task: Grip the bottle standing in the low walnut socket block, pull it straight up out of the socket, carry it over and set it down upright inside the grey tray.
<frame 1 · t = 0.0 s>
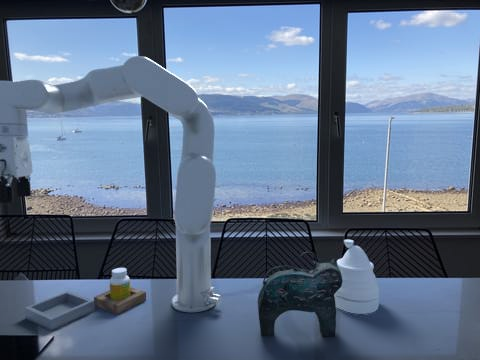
hand: (15, 199, 91), 31 cm above the table, tool pointing down, fingers open, 9 cm apart
green animal figurine: (299, 334, 85), on the table
tray: (60, 314, 94), on the table
socket block: (120, 302, 101), on the table
supplement bottle: (120, 303, 101), resting in socket block
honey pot: (354, 304, 100), on the table
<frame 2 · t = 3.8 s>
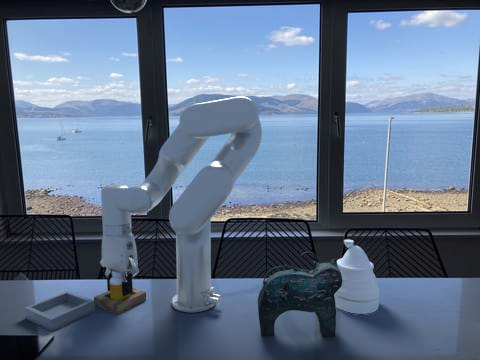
hand: (120, 291, 101), 4 cm above the table, tool pointing down, fingers closed on supplement bottle, 5 cm apart
supplement bottle: (120, 303, 101), resting in socket block, touching gripper
everything else where it was.
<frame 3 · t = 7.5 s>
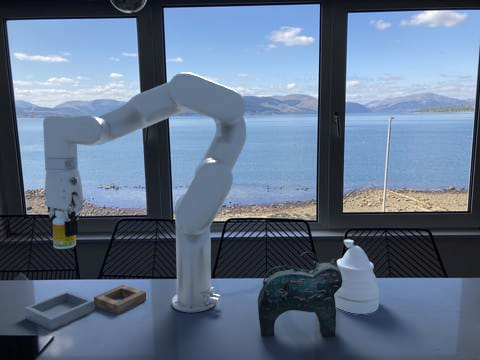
hand: (64, 233, 93), 22 cm above the table, tool pointing down, fingers closed on supplement bottle, 5 cm apart
supplement bottle: (64, 246, 94), point 18 cm above the table, touching gripper
everything else where it was.
when the fingers open (5 cm above the table, at t = 11.3 s): supplement bottle drops 1 cm, resting on tray.
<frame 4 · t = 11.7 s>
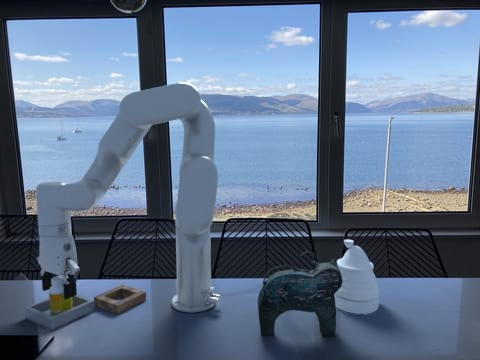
hand: (59, 292, 94), 6 cm above the table, tool pointing down, fingers open, 9 cm apart
supplement bottle: (62, 313, 94), resting on tray
everything else where it was.
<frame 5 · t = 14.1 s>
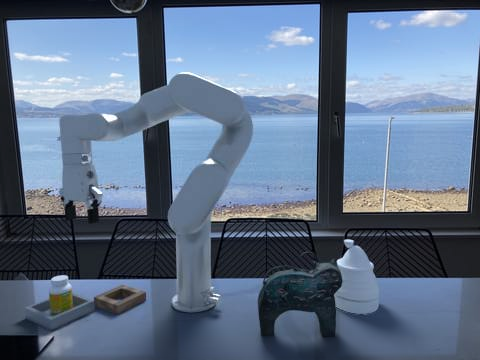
hand: (82, 221, 100), 24 cm above the table, tool pointing down, fingers open, 9 cm apart
nothing on the table moved.
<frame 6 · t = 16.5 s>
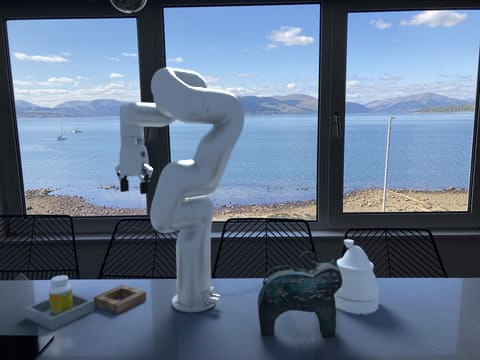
hand: (134, 192, 121), 28 cm above the table, tool pointing down, fingers open, 9 cm apart
nothing on the table moved.
at the end: supplement bottle 0.3 cm off-centre on the tray, point 0.3 cm above the tray's base; supplement bottle tilted 0°; the gripper is holding nothing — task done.
